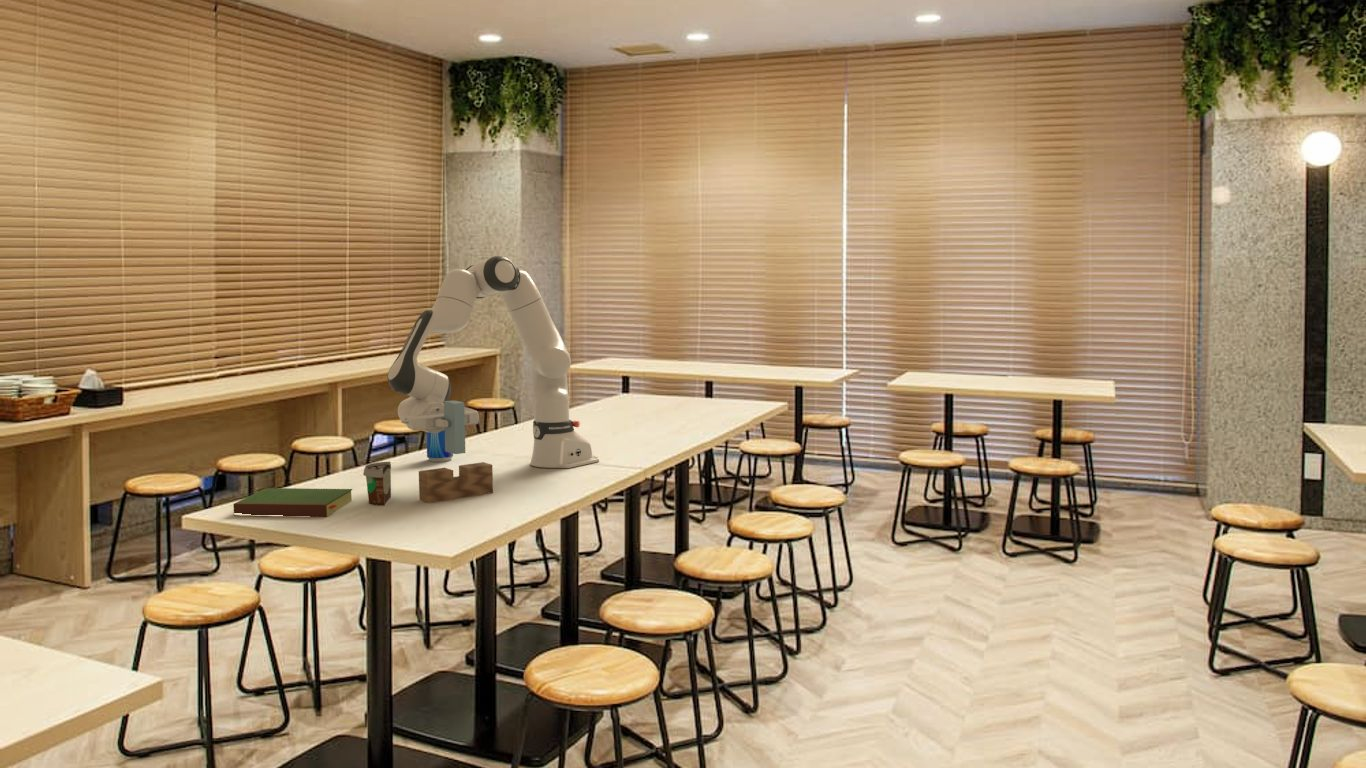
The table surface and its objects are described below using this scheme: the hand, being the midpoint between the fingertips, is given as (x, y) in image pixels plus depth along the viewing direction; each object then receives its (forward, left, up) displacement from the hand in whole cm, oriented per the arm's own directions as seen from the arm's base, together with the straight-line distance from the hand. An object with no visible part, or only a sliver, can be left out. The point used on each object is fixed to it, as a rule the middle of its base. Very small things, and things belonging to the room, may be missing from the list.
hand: (456, 423), depth 296 cm
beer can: (-22, -53, -21) cm, 61 cm away
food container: (+20, -9, -21) cm, 30 cm away
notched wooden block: (0, -1, -21) cm, 21 cm away
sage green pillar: (0, -1, -8) cm, 8 cm away
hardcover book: (+39, -16, -21) cm, 47 cm away
